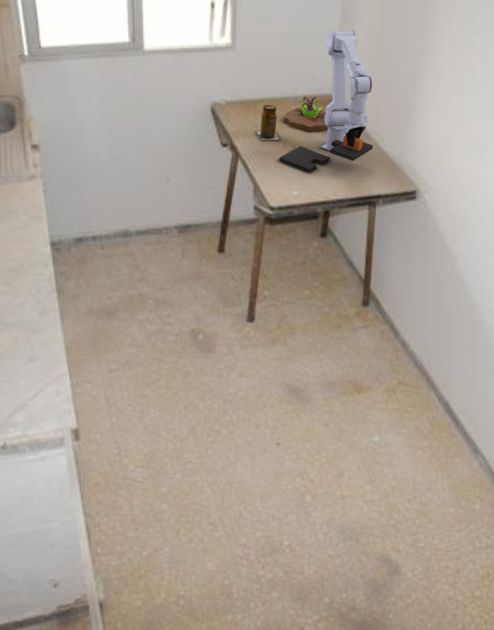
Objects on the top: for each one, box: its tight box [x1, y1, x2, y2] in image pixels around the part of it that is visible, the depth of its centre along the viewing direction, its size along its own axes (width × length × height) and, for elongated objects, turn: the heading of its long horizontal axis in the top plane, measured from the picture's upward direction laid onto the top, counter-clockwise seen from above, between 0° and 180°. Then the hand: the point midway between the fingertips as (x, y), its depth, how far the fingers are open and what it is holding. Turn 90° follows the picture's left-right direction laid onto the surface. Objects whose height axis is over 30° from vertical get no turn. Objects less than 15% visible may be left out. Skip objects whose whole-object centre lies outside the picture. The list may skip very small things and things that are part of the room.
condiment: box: [256, 104, 280, 141], centre depth 290 cm, size 7×8×12 cm
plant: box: [283, 96, 328, 133], centre depth 304 cm, size 20×20×11 cm
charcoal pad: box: [329, 136, 374, 162], centre depth 269 cm, size 14×13×5 cm
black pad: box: [278, 145, 331, 174], centre depth 277 cm, size 14×14×2 cm
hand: (352, 144), depth 269 cm, fingers closed on charcoal pad, 2 cm apart
